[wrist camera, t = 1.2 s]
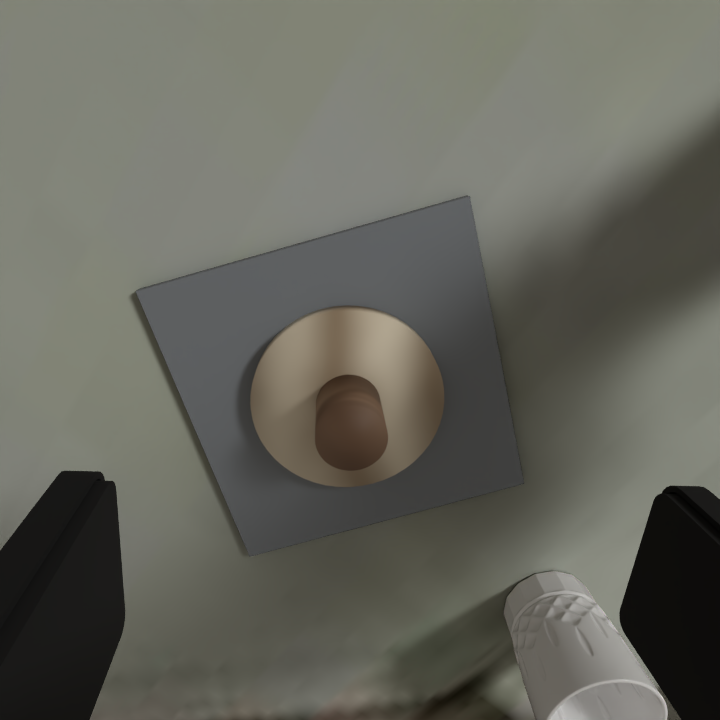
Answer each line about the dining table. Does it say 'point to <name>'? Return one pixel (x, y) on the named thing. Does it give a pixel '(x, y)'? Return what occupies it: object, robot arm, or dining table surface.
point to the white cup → (575, 655)
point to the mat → (322, 290)
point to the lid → (347, 396)
